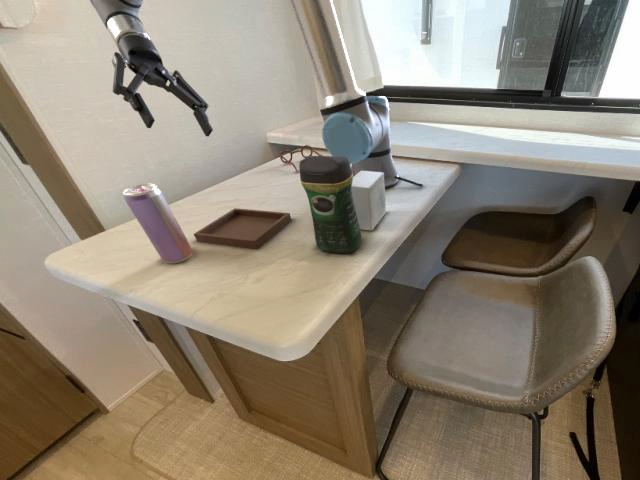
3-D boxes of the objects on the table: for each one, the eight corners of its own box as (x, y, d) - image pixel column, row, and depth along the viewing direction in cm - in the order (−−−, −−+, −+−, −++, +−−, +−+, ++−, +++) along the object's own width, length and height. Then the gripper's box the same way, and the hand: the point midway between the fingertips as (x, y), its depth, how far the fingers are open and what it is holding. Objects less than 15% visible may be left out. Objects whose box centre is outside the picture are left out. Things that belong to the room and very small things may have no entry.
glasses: (313, 157, 124) (310, 143, 121) (329, 164, 116) (327, 149, 113) (281, 165, 118) (277, 150, 115) (296, 172, 110) (293, 157, 107)
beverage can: (172, 267, 65) (130, 197, 56) (158, 260, 68) (114, 191, 58) (199, 254, 69) (163, 186, 59) (184, 247, 72) (148, 181, 62)
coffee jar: (366, 238, 71) (355, 151, 59) (353, 257, 65) (339, 164, 54) (327, 235, 73) (309, 149, 62) (312, 252, 68) (288, 162, 56)
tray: (291, 220, 80) (289, 213, 79) (257, 249, 70) (254, 241, 68) (237, 215, 84) (234, 208, 83) (197, 241, 74) (193, 233, 72)
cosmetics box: (373, 231, 74) (368, 186, 67) (348, 228, 75) (341, 185, 69) (387, 212, 81) (384, 171, 75) (364, 210, 83) (359, 169, 76)
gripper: (184, 74, 87) (222, 144, 88) (62, 38, 66) (115, 131, 67) (195, 53, 83) (235, 127, 84) (69, 7, 62) (125, 106, 63)
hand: (182, 129), depth 76 cm, fingers open, 13 cm apart
